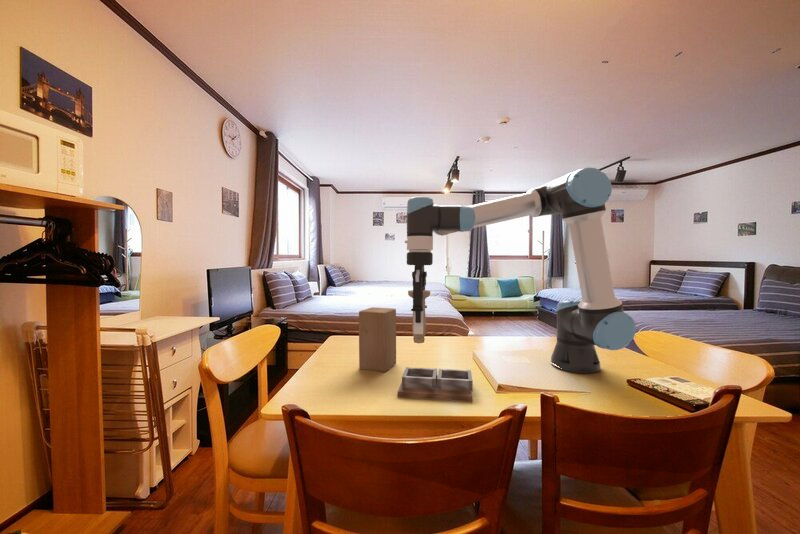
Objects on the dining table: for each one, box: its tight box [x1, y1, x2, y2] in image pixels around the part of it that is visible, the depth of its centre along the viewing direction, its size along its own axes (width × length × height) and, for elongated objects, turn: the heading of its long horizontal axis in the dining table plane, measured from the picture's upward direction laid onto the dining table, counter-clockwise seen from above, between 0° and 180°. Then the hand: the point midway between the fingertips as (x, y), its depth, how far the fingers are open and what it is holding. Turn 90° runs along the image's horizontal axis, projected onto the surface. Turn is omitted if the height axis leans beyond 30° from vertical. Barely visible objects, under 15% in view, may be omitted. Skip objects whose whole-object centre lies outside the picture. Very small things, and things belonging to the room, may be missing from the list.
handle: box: [407, 289, 431, 344], centre depth 95 cm, size 5×6×15 cm
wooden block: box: [358, 307, 397, 373], centre depth 115 cm, size 10×10×20 cm
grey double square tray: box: [397, 366, 474, 403], centre depth 95 cm, size 20×14×4 cm
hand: (419, 331), depth 95 cm, fingers closed on handle, 4 cm apart
